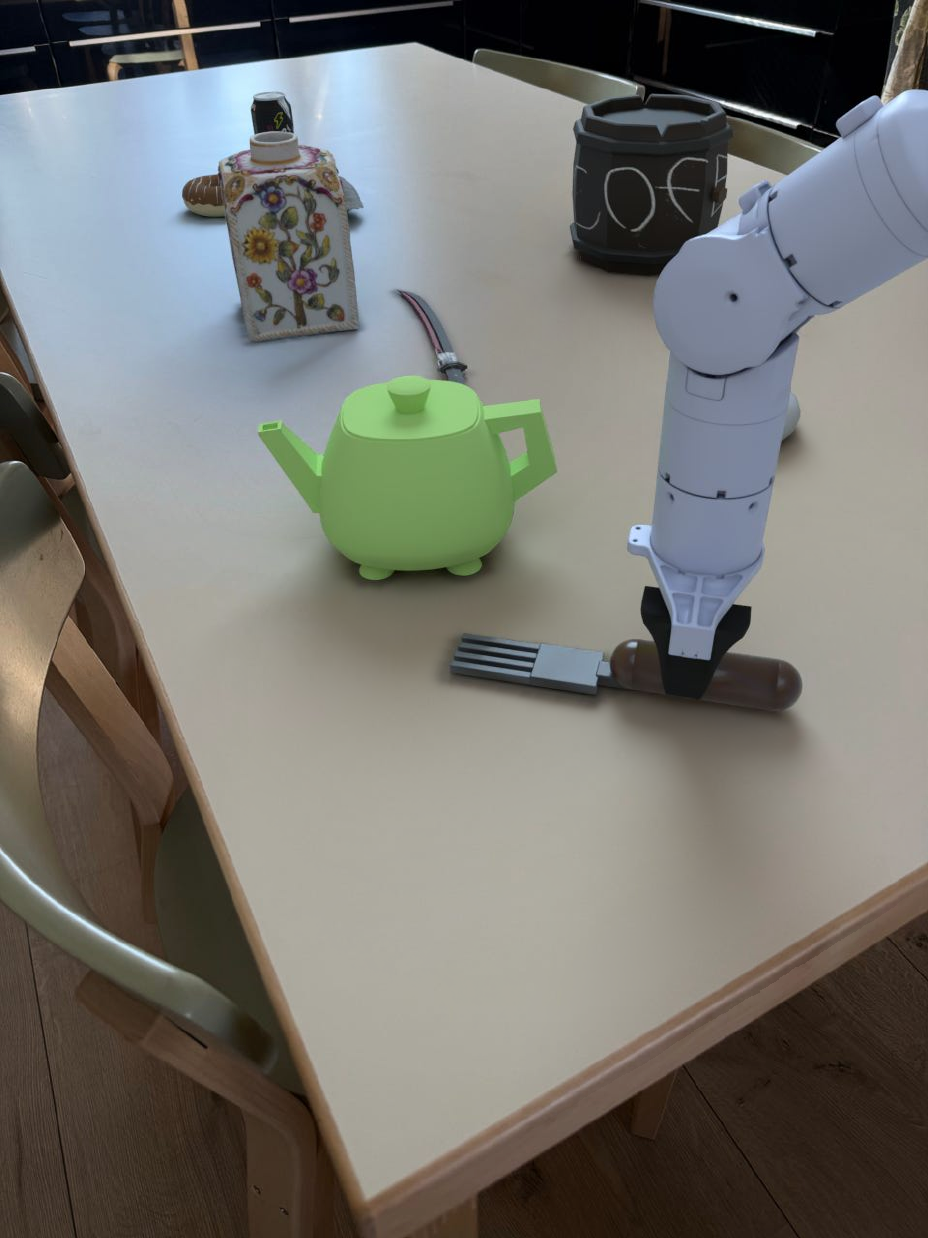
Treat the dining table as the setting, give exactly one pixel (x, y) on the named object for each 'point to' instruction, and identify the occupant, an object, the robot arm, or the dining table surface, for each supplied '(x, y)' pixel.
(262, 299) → the decorative jar
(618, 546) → the dining table surface
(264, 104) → the beverage can
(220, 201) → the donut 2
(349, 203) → the seashell
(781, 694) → the fork
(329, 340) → the dining table surface
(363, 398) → the teapot
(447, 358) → the sword
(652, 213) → the wooden barrel
